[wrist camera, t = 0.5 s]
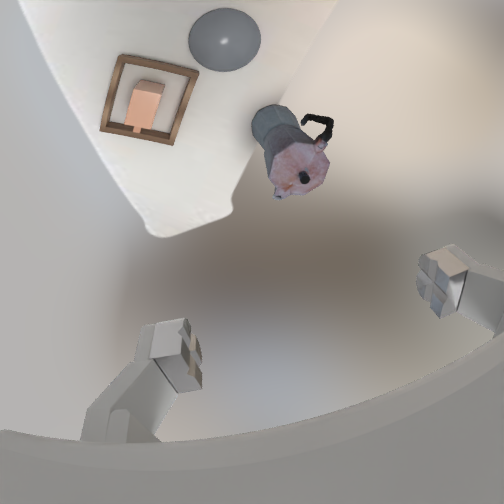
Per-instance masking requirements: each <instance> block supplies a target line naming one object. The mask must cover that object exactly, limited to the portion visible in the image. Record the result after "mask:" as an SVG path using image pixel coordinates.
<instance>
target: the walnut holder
mask: <svg viewBox="0 0 504 504" xmlns="http://www.w3.org/2000/svg"><path fill="white" fill-rule="evenodd" d="M125 63H129V64H134V65H139V66H144V67H149V68H154V69H158V70H163V71H167V72H171V73H175V74H179V75H183V76H187V77H190V79H189V81H188V84H187V87H186V89H185V92H184V95H183V97H182V100H181V103H180V106H179V109H178V111H177V114H176V117H175V120H174V123H173V126H172V129H171V132H170V134H168V133H164V132H159V131H155V130H150V129H145V128H141V131H140V133H136V132H133V129H134V126H130V125H125V124H120V123H115V122H109V120H110V116H111V112H112V108H113V103H114V99H115V96H116V92H117V88H118V84H119V81H120V77H121V74H122V71H123V67H124V64H125ZM198 76H199V71H196V70H192V69H188V68H185V67H181V66H177V65H173V64H169V63H164V62H160V61H155V60H151V59H146V58H141V57H135V56H130V55H124V54H121V55H119V56H118V59H117V62H116V65H115V69H114V72H113V76H112V79H111V83H110V87H109V90H108V94H107V99H106V103H105V107H104V111H103V116H102V121H101V126H100V131H101V132H107V133H113V134H118V135H123V136H129V137H134V138H139V139H144V140H148V141H153V142H158V143H162V144H167V145H171V146H173V145H174V142H175V138H176V135H177V132H178V130H179V127H180V124H181V121H182V118H183V115H184V112H185V110H186V107H187V104H188V101H189V99H190V96H191V93H192V91H193V88H194V86H195V83H196V81H197V78H198Z"/></svg>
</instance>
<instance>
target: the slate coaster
mask: <svg viewBox="0 0 504 504" xmlns="http://www.w3.org/2000/svg"><path fill="white" fill-rule="evenodd" d="M260 43H261V35H260V31H259V28H258V26H257V24H256V23H255V21H254V20H253V19H252V18H251V17H250V16H248V15H247V14H245V13H244V12H241V11H239V10H235V9H226V8H225V9H217V10H214V11H211V12H209V13H207V14H205V15H203V16H202V17H201V18H200V19H199V20H198V21H197V22H196V23H195V24H194V26H193V27H192V29H191V32H190V35H189V47H190V51H191V53H192V55H193V57H194V58H195V59H196V61H197V62H198V63H200V64H201V65H202V66H204V67H206V68H208V69H210V70H214V71H219V72H227V71H233V70H237V69H239V68H241V67H243V66H245V65H247V64H248V63H249V62H250V61H251V60H252V59H253V58H254V57H255V56H256V54H257V52H258V50H259V47H260Z"/></svg>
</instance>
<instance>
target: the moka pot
mask: <svg viewBox="0 0 504 504" xmlns="http://www.w3.org/2000/svg"><path fill="white" fill-rule="evenodd" d="M308 120H310V121H312V120H313V121H315V122H318V123H322V124H326V129H325V131H324V132H323V133H322V134H320V135H318V137H317V138H316V139H315V140H313V139H312V138H311V137H309V136H308V135H307V134H306V133H304V132H303V131H302V130H301V129H300V126H299V124H298V121H297V119H296V117H295V115H294V114H293V113H292V112H291V111H290V110H289V109H288V108H287V107H284V106H280V105H270V106H268V107H265V108H263V109H261V110H259V111H258V112H257V114H256V115H255V117H254V119H253V121H252V132H253V136H254V137H255V139H256V140H257V141H258V142H259V144H260V145H261V146H262V147H263V149H264V150H265V152H264V157H265V162H266V168H267V173H268V178H269V179H270V181H271V182H272V183H273V184H274V185H275V193H274V195H273V199H275V200H282V199H284V198H286V197H287V196H289V195H305V194H307V193H308V192H310V191H311V190H313V189H314V188H316V187H318V186H319V185H321V184H322V183H323V181H324V179H325V176H326V173H327V170H328V168H329V164H330V162H329V160H328V159H327V157H326V155H325V154H324V152H323V150H324V149H325V148H326V146H327V145H328V144H327V142H328V141H329V139H330V138H331V137H332V128H333V126H334V125H333V124H334V120H333V119H331V118H330V117H326V116H325V117H324V116H319V115H314V114H306V115H305V116H304V118H303V119H302V120H301V125H302V126H304V125H305V124H306V123H307V121H308Z"/></svg>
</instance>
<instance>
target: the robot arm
mask: <svg viewBox="0 0 504 504" xmlns="http://www.w3.org/2000/svg"><path fill="white" fill-rule="evenodd" d="M418 266H419V267H420V269H421V270H420V271H419V273H418V274H417V280H416V285H417V290H418V292H419V294H420V296H421V297H422V298H423V299H424V300H426V301H429V302H430V308H431V309H432V310H433V311H434V312H435V313H436V315H437V316H438V317H439V319H440V318H443V317H445V316H447V315H450V314H452V313H454V312H457V313H459V314H461V315H463V316H465V317H467V318H469V319H470V320H472V321H474V322H476V323H478V324H480V325H482V326H483V327H485V328H487V329H489V330H491V331H493V332H494V333H495V334H494V336H493V338H492V340H490V341H488V342H487V343H485V344H483V345H482V346H480V347H478V348H477V349H475V350H473V351H472V352H470V353H468V354H466V355H465V356H463V357H461V358H459V359H458V360H456V361H454V362H452V363H450V364H448V365H446V366H444V367H443V368H440V369H439V370H437V371H435V372H432V373H430V374H428V375H426V376H424V377H422V378H420V379H418V380H416V381H414V382H411V383H409V384H407V385H404V386H402V387H400V388H397V389H395V390H393V391H390V392H388V393H386V394H383V395H380V396H378V397H375V398H372V399H370V400H367V401H364V402H362V403H359V404H356V405H353V406H350V407H347V408H344V409H341V410H338V411H334V412H331V413H328V414H325V415H321V416H318V417H314V418H310V419H307V420H303V421H299V422H295V423H292V424H287V425H283V426H278V427H274V428H269V429H264V430H259V431H254V432H248V433H243V434H236V435H230V436H223V437H216V438H208V439H199V440H189V441H175V442H161V441H160V440H159V439H158V438H156V437H155V436H154V434H155V433H156V431H157V429H158V428H159V426H160V424H161V423H162V421H163V419H164V418H165V416H166V414H167V413H168V410H169V409H170V408H171V406H172V404H173V403H174V401H175V399H176V398H177V396H178V394H177V393H183V392H189V391H194V390H201V389H202V372H201V370H200V368H199V366H200V365H201V363H202V354H201V348H200V345H199V342H198V340H197V337H196V336H195V335H193V334H192V333H191V325H190V323H189V321H188V319H186V318H182V319H176V320H170V321H165V322H160V323H155V324H149V325H144V326H143V327H142V328H141V332H140V336H139V340H138V345H137V349H136V353H135V358H134V362H130V363H129V364H128V365H127V366H126V367H125V368H124V369H123V370H122V372H121V373H120V374H119V375H118V376H117V377H116V378H115V379H114V380H113V381H112V382H111V384H110V385H109V386H108V387H107V388H106V389H105V390H104V391H103V392H102V394H100V396H99V397H98V398H97V399H96V400H95V401H94V402H93V403H92V405H91V406H90V407H89V408H88V409H87V412H86V417H85V421H84V425H83V429H82V434H81V438H80V441H75V440H64V439H57V438H49V437H43V436H36V435H30V434H25V433H20V432H16V431H11V430H1V431H0V504H504V270H500V269H498V268H494V267H491V266H488V265H485V264H481V265H479V264H478V263H477V262H476V261H475V260H474V259H472V258H471V257H470V256H469V255H467V254H466V253H465V252H464V251H463V250H461V249H460V248H459V247H458V246H456V245H454V244H450V245H447V246H444V247H442V248H440V249H437V250H434V251H431V252H428V253H425V254H422V255H421V256H420V258H419V263H418Z"/></svg>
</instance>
